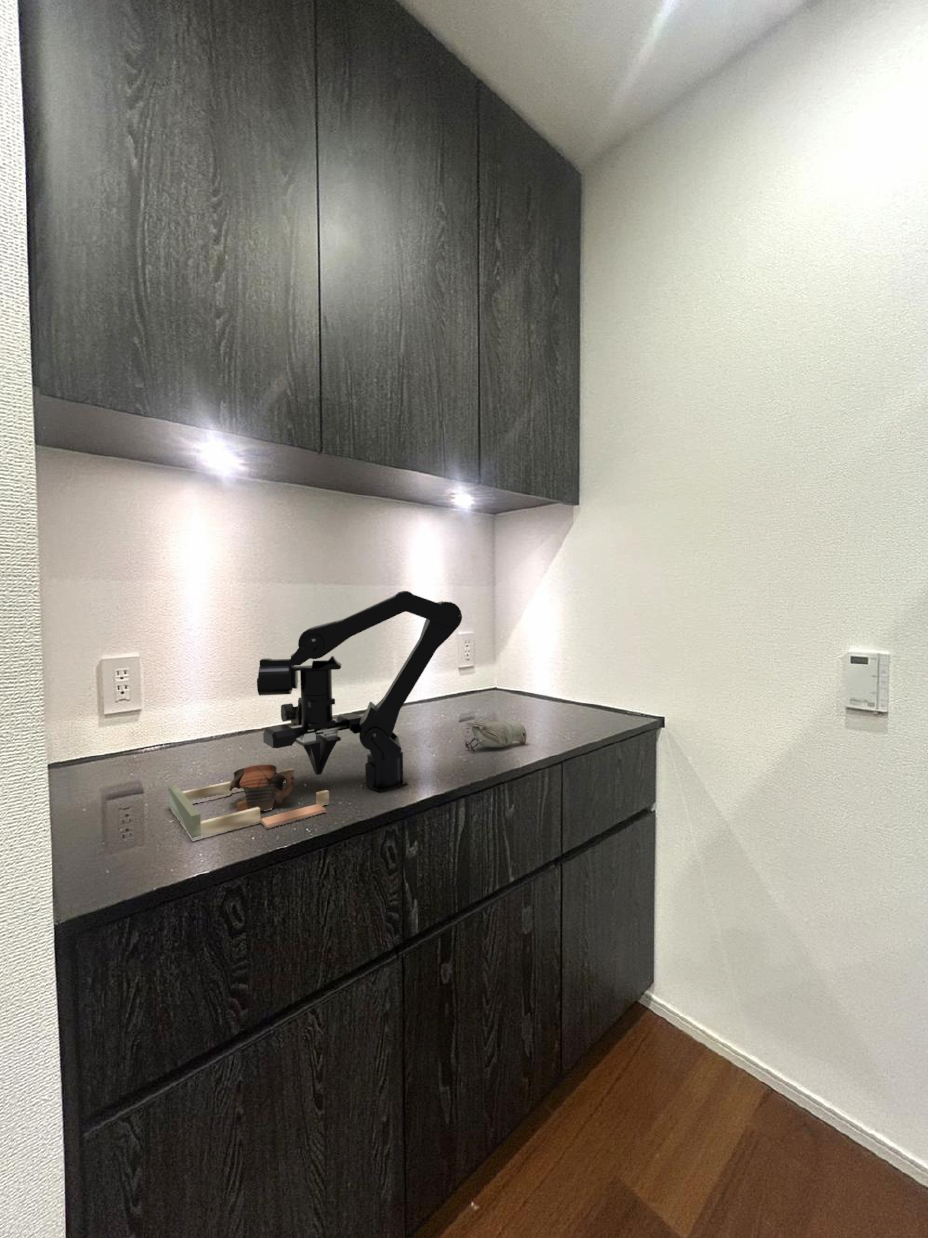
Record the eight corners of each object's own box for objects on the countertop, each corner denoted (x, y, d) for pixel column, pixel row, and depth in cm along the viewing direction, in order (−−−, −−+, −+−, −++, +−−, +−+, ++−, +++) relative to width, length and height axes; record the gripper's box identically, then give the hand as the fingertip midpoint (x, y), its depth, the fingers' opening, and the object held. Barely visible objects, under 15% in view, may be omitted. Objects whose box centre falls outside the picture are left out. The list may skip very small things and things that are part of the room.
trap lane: (286, 776, 112) (286, 757, 112) (336, 810, 94) (336, 787, 94) (165, 803, 98) (165, 781, 98) (197, 849, 80) (196, 822, 80)
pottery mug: (219, 820, 92) (217, 771, 95) (248, 824, 100) (246, 779, 104) (286, 803, 91) (282, 754, 94) (310, 808, 99) (305, 763, 103)
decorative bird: (531, 747, 132) (531, 717, 132) (471, 756, 125) (471, 724, 125) (519, 741, 137) (519, 712, 137) (461, 750, 130) (461, 719, 130)
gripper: (342, 682, 115) (343, 755, 116) (252, 693, 104) (254, 774, 104) (368, 689, 107) (369, 768, 107) (273, 702, 95) (275, 790, 96)
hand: (318, 774), depth 104 cm, fingers closed
